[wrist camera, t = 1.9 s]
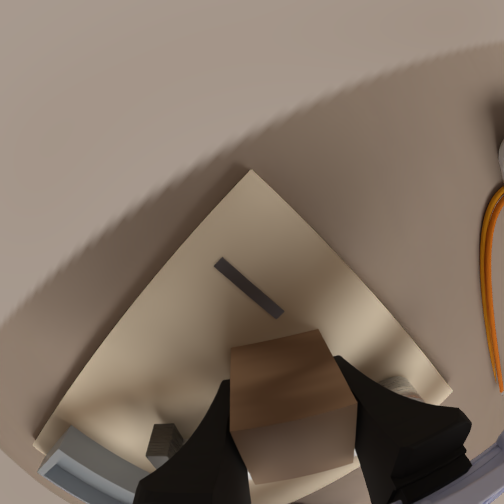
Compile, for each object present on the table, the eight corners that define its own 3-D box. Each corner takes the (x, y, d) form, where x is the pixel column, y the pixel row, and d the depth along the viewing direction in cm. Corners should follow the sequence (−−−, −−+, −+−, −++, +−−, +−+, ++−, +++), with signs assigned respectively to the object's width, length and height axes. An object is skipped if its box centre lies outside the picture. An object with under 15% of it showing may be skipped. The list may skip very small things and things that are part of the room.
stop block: (318, 328, 12) (357, 403, 7) (324, 390, 13) (353, 462, 8) (230, 347, 12) (230, 431, 7) (249, 407, 13) (255, 484, 8)
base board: (447, 385, 15) (453, 392, 14) (202, 526, 19) (202, 531, 18) (250, 169, 11) (251, 168, 10) (35, 440, 15) (32, 446, 14)
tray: (196, 493, 16) (195, 517, 13) (145, 510, 17) (141, 528, 14) (71, 424, 13) (58, 448, 11) (46, 454, 15) (36, 472, 12)
